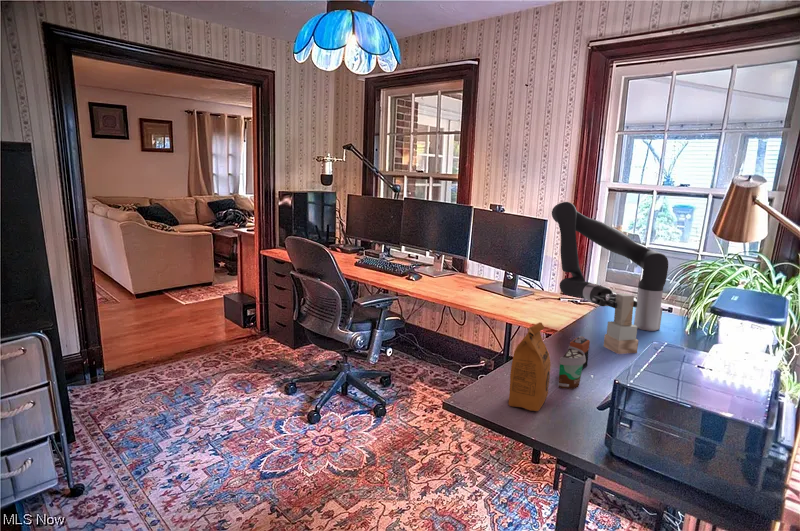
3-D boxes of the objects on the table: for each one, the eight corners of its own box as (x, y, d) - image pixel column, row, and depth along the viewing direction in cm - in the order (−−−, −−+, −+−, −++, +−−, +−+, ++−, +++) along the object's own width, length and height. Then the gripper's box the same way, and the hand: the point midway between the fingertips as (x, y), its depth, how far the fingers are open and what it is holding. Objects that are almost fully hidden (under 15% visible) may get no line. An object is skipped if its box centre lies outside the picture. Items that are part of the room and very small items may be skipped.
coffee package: (553, 399, 127) (560, 324, 123) (538, 417, 117) (545, 335, 113) (519, 389, 133) (524, 317, 129) (502, 405, 123) (507, 327, 119)
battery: (587, 365, 152) (590, 337, 150) (580, 371, 147) (583, 342, 145) (574, 362, 155) (577, 334, 153) (567, 367, 150) (569, 339, 148)
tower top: (622, 333, 171) (624, 320, 171) (635, 339, 165) (637, 326, 164) (606, 334, 170) (607, 321, 169) (619, 340, 163) (620, 327, 162)
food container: (578, 395, 130) (582, 362, 129) (556, 389, 133) (559, 357, 132) (586, 380, 141) (589, 349, 139) (566, 375, 144) (569, 345, 142)
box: (631, 326, 164) (635, 296, 162) (620, 325, 164) (623, 296, 162) (624, 321, 169) (627, 292, 167) (612, 321, 169) (615, 292, 167)
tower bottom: (621, 345, 173) (623, 333, 172) (636, 353, 165) (638, 340, 164) (603, 346, 171) (604, 334, 170) (617, 354, 164) (619, 341, 163)
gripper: (582, 285, 178) (610, 295, 162) (613, 284, 181) (644, 294, 166) (580, 304, 179) (608, 315, 164) (611, 302, 182) (641, 314, 167)
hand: (626, 305), depth 165 cm, fingers open, 8 cm apart
